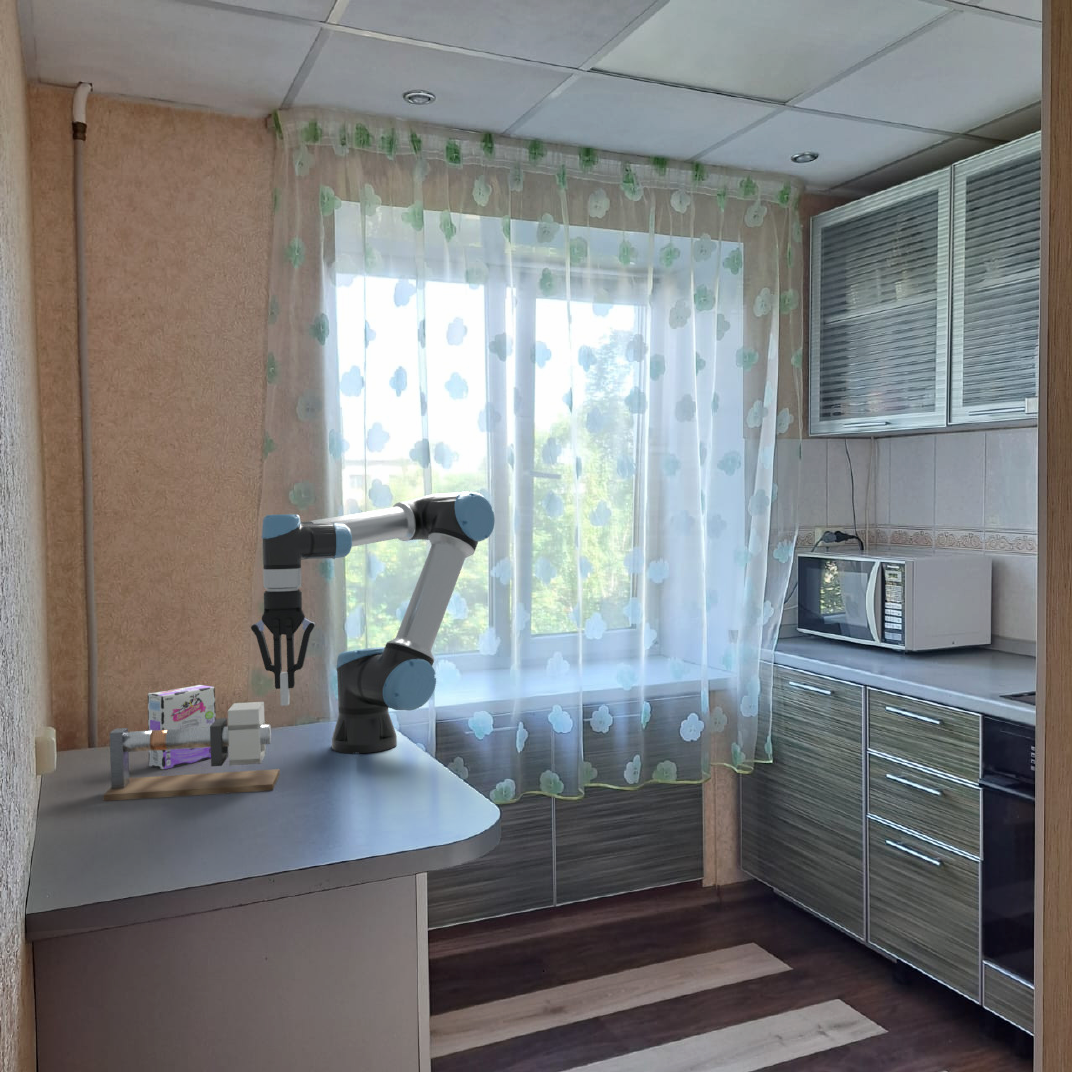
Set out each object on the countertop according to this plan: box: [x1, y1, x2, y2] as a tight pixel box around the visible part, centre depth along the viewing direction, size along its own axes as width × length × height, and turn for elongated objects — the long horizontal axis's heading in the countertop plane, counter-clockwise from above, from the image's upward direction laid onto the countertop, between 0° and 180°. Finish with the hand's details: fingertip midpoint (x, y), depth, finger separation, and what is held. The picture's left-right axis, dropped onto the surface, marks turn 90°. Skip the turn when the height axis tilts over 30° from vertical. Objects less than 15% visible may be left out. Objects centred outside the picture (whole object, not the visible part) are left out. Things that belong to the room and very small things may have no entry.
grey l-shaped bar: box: [109, 723, 272, 789], centre depth 197 cm, size 31×4×11 cm, turn 98°
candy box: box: [147, 684, 217, 770], centre depth 219 cm, size 14×6×16 cm, turn 143°
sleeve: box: [227, 701, 267, 766], centre depth 199 cm, size 6×8×11 cm
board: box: [102, 768, 280, 802], centre depth 198 cm, size 32×12×1 cm, turn 98°
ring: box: [210, 717, 229, 767], centre depth 198 cm, size 2×8×8 cm, turn 8°
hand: (285, 704), depth 200 cm, fingers closed
